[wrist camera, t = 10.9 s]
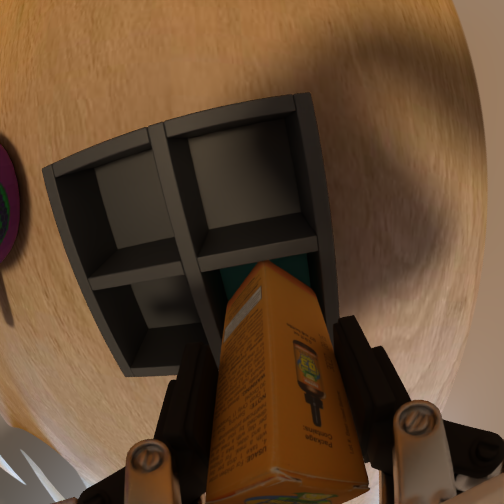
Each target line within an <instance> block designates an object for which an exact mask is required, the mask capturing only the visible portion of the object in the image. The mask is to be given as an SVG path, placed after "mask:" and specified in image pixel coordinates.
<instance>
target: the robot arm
mask: <svg viewBox="0 0 504 504" xmlns="http://www.w3.org/2000/svg"><path fill="white" fill-rule="evenodd" d="M333 338H334V354H335V357H336V360H337V364H338V367H339V370H340V374H341V377H342V381H343V384H344V388H345V392H346V395H347V399H348V403H349V406H350V410H351V413H352V417H353V421H354V425H355V428H356V432H357V436H358V440H359V444H360V448H361V451H362V455H363V459H364V462H365V463H368V462H370V463H371V467H372V468H375V469H377V470H379V504H504V439H502V438H501V437H500V436H499V435H498V434H496V433H493V432H490V431H485V430H481V429H477V428H473V427H469V426H464V425H461V424H457V423H453V422H449V421H446V420H443V419H442V416H441V413H440V411H439V409H438V408H437V407H436V406H435V405H434V404H432V403H430V402H429V401H424V400H413V401H411V399H410V397H409V395H408V393H407V391H406V389H405V387H404V385H403V383H402V381H401V380H400V378H399V376H398V374H397V372H396V370H395V368H394V366H393V364H392V363H391V361H390V359H389V357H388V355H387V353H386V351H385V350H384V348H383V347H382V346H378V347H374V348H371V347H370V345H369V343H368V341H367V339H366V337H365V335H364V333H363V331H362V329H361V327H360V326H359V324H358V322H357V320H356V318H355V316H354V315H352V316H347V317H343V318H338V323H334V324H333ZM218 375H219V371H218V368H217V366H216V363H215V360H214V358H213V355H212V352H211V350H210V347H209V345H204V344H203V342H195V343H187V344H186V346H185V349H184V353H183V356H182V360H181V364H180V367H179V371H178V375H177V378H176V380H171V381H170V382H169V384H168V388H167V391H166V395H165V398H164V402H163V405H162V409H161V412H160V416H159V420H158V423H157V427H156V431H155V435H154V439H146V440H142V441H140V442H138V443H136V444H135V445H134V446H132V447H131V448H130V450H129V452H128V453H127V457H126V466H125V467H124V468H122V469H120V470H119V471H117V472H115V473H114V474H112V475H110V476H108V477H107V478H105V479H103V480H102V481H100V482H98V483H96V484H94V485H93V486H91V487H89V488H87V489H86V490H85V491H83V493H82V494H81V495H80V497H79V499H77V498H75V497H73V498H70V499H66V500H63V501H59V502H55V503H52V504H205V501H206V497H205V492H206V486H207V476H208V466H209V457H210V447H211V437H212V427H213V418H214V409H215V399H216V391H217V383H218Z"/></svg>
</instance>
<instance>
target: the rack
mask: <svg viewBox="0 0 504 504" xmlns="http://www.w3.org/2000/svg"><path fill="white" fill-rule="evenodd" d="M42 173H43V177H44V181H45V185H46V189H47V193H48V197H49V200H50V204H51V207H52V211H53V214H54V218H55V221H56V224H57V227H58V230H59V233H60V236H61V239H62V242H63V245H64V248H65V251H66V253H67V256H68V259H69V261H70V264H71V267H72V269H73V272H74V274H75V277H76V279H77V282H78V284H79V286H80V289H81V291H82V294H83V296H84V298H85V300H86V303H87V305H88V307H89V309H90V311H91V313H92V316H93V318H94V320H95V322H96V324H97V326H98V328H99V330H100V332H101V334H102V336H103V338H104V340H105V342H106V344H107V345H108V347H109V349H110V351H111V353H112V355H113V357H114V358H115V360H116V362H117V364H118V365H119V367H120V369H121V371H122V372H123V374H124V376H125V377H147V376H167V375H178V371H179V367H180V364H181V360H182V356H183V353H184V349H185V346H186V344H187V343H195V342H203V344H204V345H209V347H210V350H211V352H212V355H213V358H214V360H215V363H216V366H217V368H218V370H219V365H220V355H221V346H222V338H223V331H224V323H225V315H226V308H227V303H228V301H229V300H230V299H231V298H232V296H233V295H234V294H235V292H236V291H237V289H238V288H239V287H240V285H241V284H242V283H243V281H244V280H245V279H246V277H247V276H248V275H249V273H250V272H251V271H252V269H253V268H254V267H255V265H256V264H257V263H258V262H261V261H266V260H269V261H271V262H272V263H274V264H275V265H277V266H278V267H280V268H281V269H283V270H285V271H286V272H288V273H289V274H291V275H292V276H294V277H295V278H297V279H298V280H300V281H301V282H303V283H304V284H306V285H307V286H309V287H310V288H311V289H313V290H314V291H315V293H316V296H317V300H318V303H319V306H320V309H321V312H322V315H323V318H324V321H325V324H326V327H327V331H328V334H329V337H330V340H331V343H332V346H333V350H334V338H333V324H334V323H338V318H339V301H338V285H337V272H336V260H335V249H334V239H333V230H332V221H331V213H330V205H329V197H328V190H327V182H326V176H325V169H324V162H323V156H322V150H321V144H320V138H319V133H318V127H317V122H316V117H315V111H314V106H313V102H312V97H311V93H310V92H305V93H297V94H293V95H292V94H289V95H281V96H275V97H268V98H262V99H256V100H251V101H245V102H240V103H235V104H230V105H226V106H221V107H217V108H212V109H208V110H204V111H200V112H196V113H192V114H188V115H184V116H181V117H177V118H173V119H170V120H166V121H164V122H160V123H157V124H153V125H150V126H148V127H144V128H141V129H138V130H135V131H132V132H129V133H126V134H123V135H121V136H118V137H115V138H112V139H110V140H107V141H104V142H102V143H99V144H97V145H94V146H92V147H89V148H87V149H84V150H82V151H80V152H77V153H75V154H73V155H70V156H68V157H66V158H64V159H61V160H59V161H57V162H55V163H53V164H50V165H48V166H46V167H44V168H42Z"/></svg>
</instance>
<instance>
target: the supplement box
mask: <svg viewBox="0 0 504 504" xmlns="http://www.w3.org/2000/svg"><path fill="white" fill-rule="evenodd" d="M368 485H369V481H368V475H367V472H366V468H365V464H364V460H363V455H362V451H361V448H360V444H359V440H358V436H357V432H356V428H355V425H354V421H353V417H352V413H351V410H350V406H349V403H348V399H347V395H346V392H345V388H344V384H343V381H342V377H341V374H340V370H339V367H338V364H337V360H336V357H335V354H334V350H333V346H332V343H331V340H330V337H329V334H328V331H327V327H326V324H325V321H324V318H323V315H322V312H321V309H320V306H319V303H318V300H317V296H316V293H315V291H314V290H313V289H311V288H310V287H309V286H307V285H306V284H304V283H303V282H301V281H300V280H298V279H297V278H295V277H294V276H292V275H291V274H289V273H288V272H286V271H285V270H283V269H281V268H280V267H278V266H277V265H275V264H274V263H272V262H271V261H269V260H266V261H261V262H258V263H257V264H256V265H255V267H254V268H253V269H252V271H251V272H250V273H249V275H248V276H247V277H246V279H245V280H244V281H243V283H242V284H241V285H240V287H239V288H238V289H237V291H236V292H235V294H234V295H233V296H232V298H231V299H230V300H229V301H228V303H227V308H226V315H225V323H224V331H223V338H222V346H221V355H220V365H219V375H218V383H217V391H216V399H215V409H214V418H213V427H212V437H211V447H210V457H209V466H208V476H207V486H206V501H205V504H342V503H344V502H347V501H349V500H351V499H354V498H356V497H358V496H360V495H362V494H364V493H366V492H367V491H369V490H370V488H369V487H368Z"/></svg>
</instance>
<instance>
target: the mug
mask: <svg viewBox="0 0 504 504" xmlns="http://www.w3.org/2000/svg"><path fill="white" fill-rule="evenodd" d="M19 221H20V198H19V190H18V182H17V178H16V175H15V171H14V167H13V164H12V162H11V160H10V158H9V156H8V153H7V152H6V150H5V149H4V148H3V147H2V145H1V144H0V263H1V262H2V261H3V260H4V258H5V257H6V256H7V255H8V253H9V252H10V250H11V248H12V246H13V244H14V241H15V239H16V236H17V233H18V227H19Z"/></svg>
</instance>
